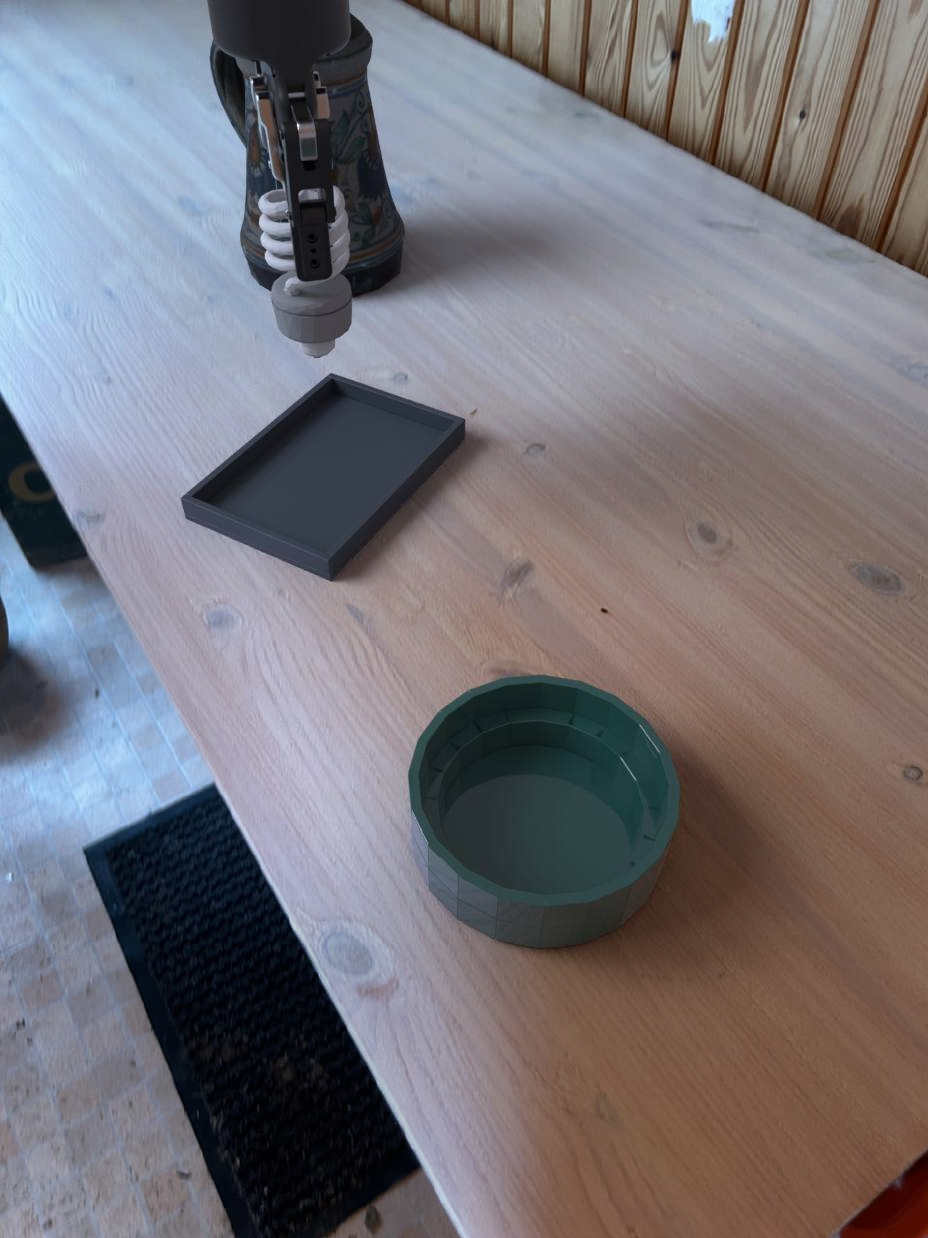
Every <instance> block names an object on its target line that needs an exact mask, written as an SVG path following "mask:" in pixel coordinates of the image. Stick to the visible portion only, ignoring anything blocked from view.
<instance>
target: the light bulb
mask: <svg viewBox="0 0 928 1238" xmlns="http://www.w3.org/2000/svg"><path fill="white" fill-rule="evenodd" d="M333 189H334V206H335V207H336V212H337V216H335V223H328V226H330V227H332V228H331V229H329V240H330V245H333V247H332V248H330V251H331V262H332V275H331V277H330V278H328V279H325V280H317V281H308V282H303V281H300V280H299V279H298V277H297V274H296V271H295V264H294V260H288V259H281V258H279V257H281V256H284V255H293V247H292V241H285V242H281V241H276V239H278V238H280V237H291V230H290V224H289V223H278V222H274V221H277V220H280V219H288V218H286V216H285V209H286V202H285V196H284V190H283V189H279V190H273V191H270V192H268V193H266V194H264V195H263V196H261V198H260V200H259V203H258V205H259V209H260V210H261V212H262V213H263V214H262V215H261V217H260V219H259V225H260V228H261V229H262V230H263V231H264V232H263V234H262V235H261V243H262V245H263V247H264V248H265V249H266V250H267V251H266V253H265V259H266V261H267V263H268V265H270V266H271V267H272V268H275V269H277V270H280V271H288V272H287V273H285V274H283V275H282V276H280V277H279V278H278V279H277V280H276V281H275V282H274V284H273V286H272V290H271V291H270V292H271V293H270V294H271V297H270V299H271V305H272V309H273V313H274V317H275V321H276V326H277V329H278V330H279V332H280V333H281V334H282V335H283V336H284V337H286V338H288V339H290V340H292V341H294V342H297V343H298V347H299V349H300V351H301V352H302V353H303V354H305V355H306V356H309V357H313V358H314V359H320V358H323V357H325V356H327V355H329V354H330V353H331V352H332V351H333V350H334V349H335V348H336V340H337V339H339V338H341V337H342V336H344V335H345V334H346V333H347V332H348V331H349V330H350V328H351V326H352V322H353V297H352V291H351V286H350V283H349V281H348V280H347V279H346V278H345V277H344V276H343V275H342V274H340V272H341V271H342V270H343V269H344V267H345V266H346V264H347V262H348V260H349V256H350V253H349V247H348V245H349V242H350V233H349V229H348V228H347V227H348V216H347V213H346V211H345V209H344V207H345V200H344V196H343V194H342V192H341V191H340V190H339V188H337V187H336V186H334V185H333ZM315 191H317V188H316V189H306V190H302V191H300V192H299V201H301V200H311V199H318V192H315ZM335 260H336V261H335ZM333 261H335V262H334V263H333Z"/></svg>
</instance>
